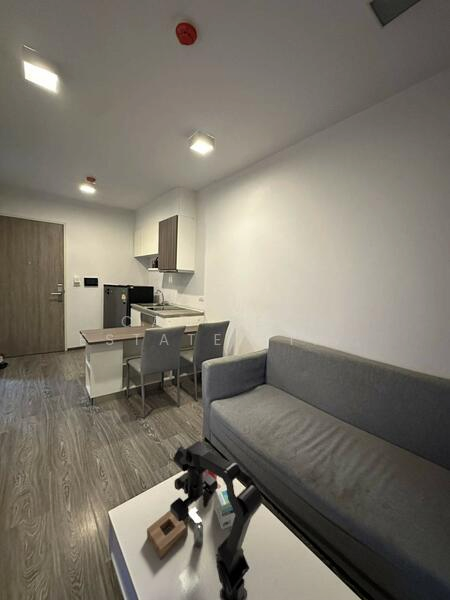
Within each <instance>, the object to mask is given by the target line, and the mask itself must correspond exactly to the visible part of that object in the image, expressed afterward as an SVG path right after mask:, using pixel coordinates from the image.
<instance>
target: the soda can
mask: <svg viewBox="0 0 450 600" xmlns="http://www.w3.org/2000/svg"><path fill="white" fill-rule="evenodd" d="M207 474H210V475H211V476H212V477H213V478H215V479H216V480H217V481H218V479H217V478H218V476H217V475H215V474H214V473H212V472H210V471H209V470H206V471H204V472H203V478H204V477H205V476H206V475H207Z"/></svg>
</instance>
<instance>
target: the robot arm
mask: <svg viewBox="0 0 450 600" xmlns="http://www.w3.org/2000/svg"><path fill="white" fill-rule="evenodd" d="M172 459H173V463H174V464H175V465H176V466H177V468H179V469H180V470H181V471H182V472H184V473H183V474H182V475H180V476H179V477H178V478H175V480H174V482H173V484H174V489H175V490H177V491H180V490H181V489H182V490H183V493H184V494H185V495H187V498H185V499H184V500H183V499H182V498H181V497H178V498H177V499H175V500H174V501H173V502H172V503H171V504H170V506H169V508H170V509H169V511H170V512H171V513H172V514H173V515H174V516H175V518H176V519H177V520H178V521H183V522H184V525H185V526H187V525H189V520H188V519H189V510H190V509H189V507H190V506H191V505H192V504H194V503H195V502H197V501H198V500H199V499H201V498H202V506H203V508H204V509H207V506H208V505H209V503H210V501H211V499H212V497H213V496H214V492H215V490H216V489H217V488H218V483H219V482H218V479H217V480H216V479H215V478H213V477H212V476H211V475H210V474H207V475H206V476H205V477H204V478H203V472H204V471H206V470H209V471H210V472H212V473H214V474H215V475H217V477H219V478H221V479H222V482H225V484H226V487H227V495H228V500H229V502H230V504H231V506H232V507H233V512H234V514H235V518H234V521H233V524H232V526H231V527H230V531H229V534H228V536H226V538H225V539H224V540H223V541H222V542H221V544H220V545H218V547H217V553H215V557H216V562H215V563H216V569H217V575H218V580H219V582H220V584H221V586H222V587H221V588H220V591H219V594H220V596H221V597H222V598H223V600H244V599H245V598H246V596H247V595H248V590H247V589H246V588H245V579H244V576H245V575H246V574H247V573H248V572H249V569H250V566H249V564H248V561H247V558H246V557H245V555H244V552H245V551H244V549H243V548H242V547H243V543H244V540H245V538H246V534H247V531H248V529H249V526H250V523H251V520H252V518H253V516H254V515H255V514H256V512H258V510H259V508H260V507H261V505H262V504H263V497H262V494H261V490H260V489H259V487H258V486H257V484H256V483H255V482H254V480H253V478H252V477H251V476H250V475H248V474H247V473H245V472H244V471H242V470H241V468H240V466H239V465H238V464H237V463H236V462H231V461H229V460H227V459H225V458H223V457H221V456H219V455H218V454H215V453H213V452H211V451H210V450H208V448H207V445H206V444H205V443H203V442H202V441H200V440H198V441H195V442H194V443H193V444H191V445H190V446H188V447H186V448H185V447H183V446H182V445H181V446H180V447H178V448H177V451H176V452H175V454H174V456H173V458H172ZM236 479H237V480H239V481H241V482H242V483H244V484H245V486H246V487H245V488H244V489H242V491H241V492H240V493H239V494H238V495H237V496H236V494H235V488H234V480H236Z"/></svg>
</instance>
